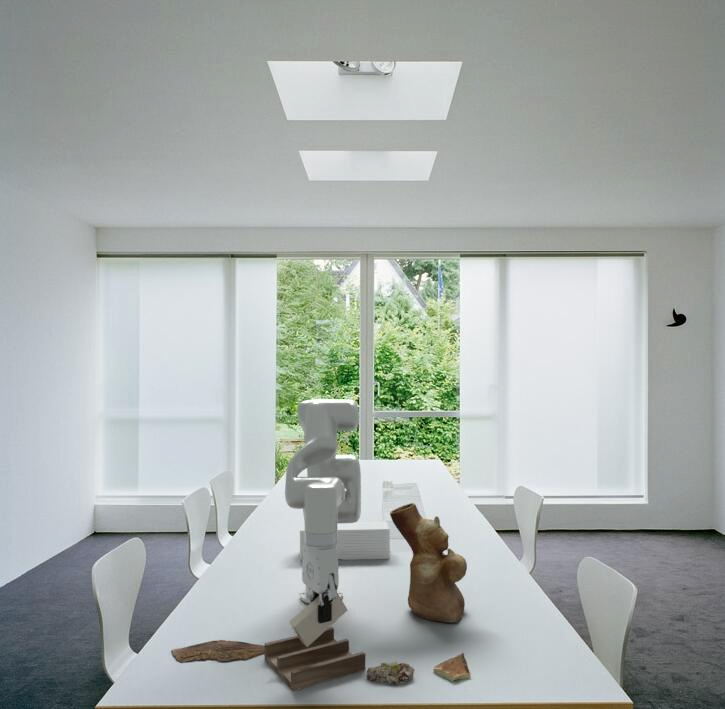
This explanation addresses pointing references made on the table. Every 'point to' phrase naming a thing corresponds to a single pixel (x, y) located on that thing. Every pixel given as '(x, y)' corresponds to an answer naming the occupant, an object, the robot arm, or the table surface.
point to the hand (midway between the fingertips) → (321, 618)
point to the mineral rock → (391, 673)
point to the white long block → (359, 540)
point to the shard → (453, 668)
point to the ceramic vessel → (431, 567)
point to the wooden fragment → (218, 651)
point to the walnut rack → (312, 659)
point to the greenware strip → (315, 620)
